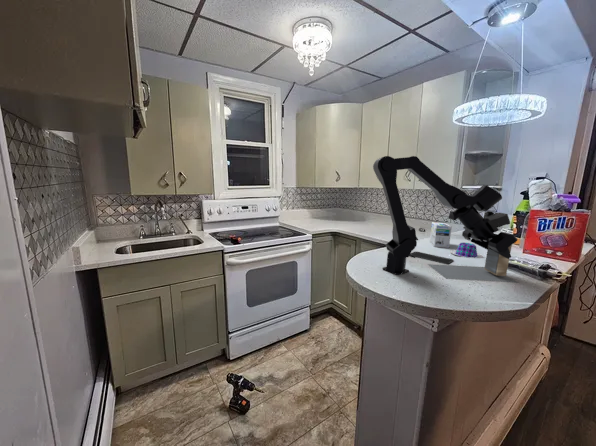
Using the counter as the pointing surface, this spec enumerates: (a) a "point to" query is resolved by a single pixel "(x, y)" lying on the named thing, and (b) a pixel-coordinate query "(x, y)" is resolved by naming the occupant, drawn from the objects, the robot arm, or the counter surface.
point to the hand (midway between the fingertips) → (502, 254)
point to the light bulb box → (440, 234)
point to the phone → (431, 257)
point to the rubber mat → (468, 273)
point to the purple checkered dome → (466, 250)
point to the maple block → (496, 263)
